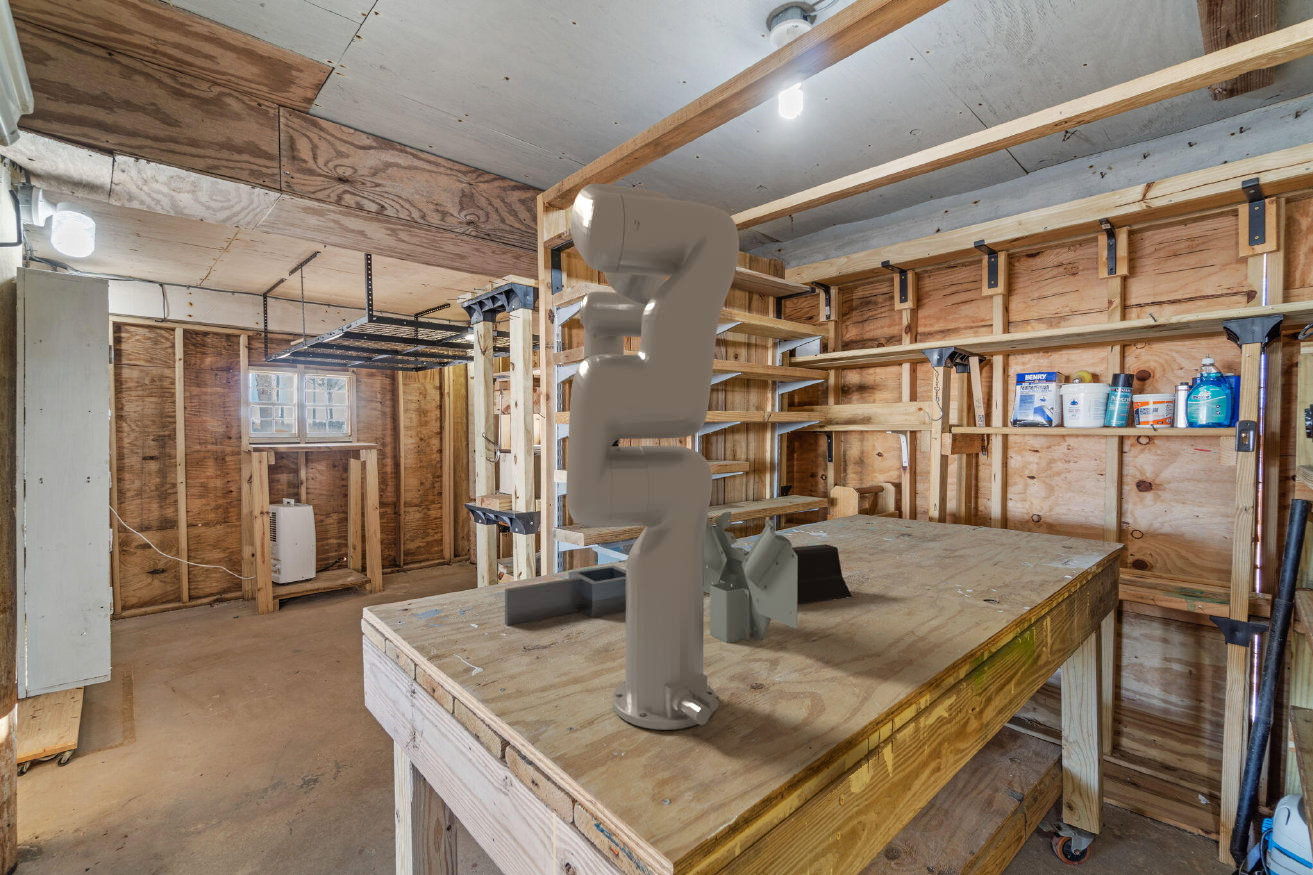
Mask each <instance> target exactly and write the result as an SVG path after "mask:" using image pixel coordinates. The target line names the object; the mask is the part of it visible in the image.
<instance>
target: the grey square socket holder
mask: <svg viewBox="0 0 1313 875" xmlns="http://www.w3.org/2000/svg"><path fill="white" fill-rule="evenodd" d="M578 612H582V613H584V614H585V615H587V616H589V617H591V618H592V619H593V618H597V617H598V618H599V617H602V616H607V615H612V614H616V613H622V612H626V569H623V568H621V567H619V566H617V565H614V564H613V565H608V566H600V567H594V568H590V569H589V568H588V569H581V570H576V571H568V578H565V579H560V580H554V581H552V580H551V581H547V582H541V583H533V584H528V585H522V586H516V587H510V588H508V587H507V588H504V624H505V625H506V626H511V625H512V626H513V625H516V624H522V623H529V622H532V621H537V620H538V621H539V620H541V619H547V618H552V617H558V616H563V615H568V614H569V615H570V614H573V613H578Z"/></svg>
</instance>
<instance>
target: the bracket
mask: <svg viewBox="0 0 1313 875" xmlns="http://www.w3.org/2000/svg"><path fill="white" fill-rule="evenodd" d="M714 522H715V525H716V526H715V527H714V526H713V524H712V521H711V520H710V517H709V515H708V516H707V522H706V531H705V544H704V593H707V594H709V596H710V598H709V599H710V601H709V605H710V611H709V612H710V614H709V622H710V624H709V634H710V635H711V636H712V637H714V638H716V639H718V640H720V641H722V642H725V643H728V644H729V643H733V642H737V641H740V640H741V641H742V640H744V641H747V642H749V641H750V633H751V636H752V637H753V638H755V639H757V640H759V641H763V640H764V639H765V635H766V633H767V631H768V627H769V625H770V623H771V620H774V621H777V622H779V623H781V624H784V625H787V626H789V627H792V628H794V629H798V605H797V599H798V556H797V555H796V553H795V552H794V551H793V549H792V548H793V547H794V546H793V544H792V542H791V541H790V540H789V538H787V537H786V536H784V535H781V534H777V533H776V532H775V519H770V520H769V519H768V520H765V527H764V528H763V529H762V531H761V533H760V534H759V536H758V538H757V539H756V540H755V542H754V544H753V546H752V547H751V548H750V550H749V551H750V552H749V551H748V550H746V549H744V548H743V547H733V546H732V545H734V544H735V543H737V539H736V537H735V535H734V533H733V532H730V531H725V530H726V529H727V528H728V527H730V526H731V525H732V511H727V512H723V513H721V514H720V516H719V517H718V518H717V519H716V520H715V521H714ZM732 537H733V538H732ZM748 552H749V553H748ZM746 553H748V555H744V554H746ZM792 555H794V556H792Z"/></svg>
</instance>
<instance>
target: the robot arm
mask: <svg viewBox="0 0 1313 875" xmlns="http://www.w3.org/2000/svg"><path fill="white" fill-rule="evenodd" d="M570 215H571V216H570V233H571V238H572V242H573V244H574V248H575V250H576V251H577V252H578V254H579V255H580V257H581V258H582V259H583V261H584V263H585V264H586V265H587V266H588V267H589V268H590V269H592V270H595V271H597V272H600V273H601V272H603V275H604V279H605V280H606V282H607V283H608V285H609V286H610V287H611V289H613V291H615V292H610V291H591V292H588V293H587V294H586V295H585V296H584V298H583V299H582V300H581V302H580V304H579V311H578V312H579V321H580V324H581V325H582V327H583V360H582V361H581V362H580V364H579V365H578V367H577V368H576V371H575V373H574V376H573V380H572V384H571V391H570V401H569V402H570V403H569V420H568V439H567V440H568V441H567V444H568V445H567V462H566V464H567V465H566V484H565V485H566V488H565V490H566V491H565V492H566V495H565V496H566V505H567V506H566V507H567V510H568V513H569V516H570V517H571V519H572V520H573V522H575V523H576V524H577V525H579V526H582V527H585V528H599V529H600V528H620V527H621V528H622V527H624V528H625V527H644V528H643V530H642V531H641V533H640V534H639V536H638V537H637V539H636V540H635V542H634V543H633V544H632V547H631V548H630V551H629V552H628V555H627V558H626V563H625V564H626V565H625V570H626V611H625V681H623V682H621V683H620V684H619V685H618V686H616V688H615V690H614V692H613V693H612V707H613V709H614V711H615V713H616V714H617V715H618V717H620V719H623V720H624V721H625V722H627V723H629V724H632V725H634V726H637V727H641V728H644V729H650V730H659V731H661V730H662V731H663V730H664V731H667V730H668V731H671V730H672V731H673V730H680V729H686V728H690V727H693V726H696V725H700V726H702V725H705V724H706V723H708V721H709V719H710V717H711V716H712V715H713V713H715V711H717V710H718V708H719V704H720V702H719V700H718V698H717V697H716V693H715V691H714V690H713V688H712V687H711V685H709V684H708V676H707V675H706V674H704V623H705V622H704V616H705V615H704V614H705V613H704V608H705V606H704V604H705V603H704V602H705V601H704V598H705V597H704V596H705V595H704V594H705V592H704V544H705V531H706V522H707V516H708V517H709V509H710V505H711V498H712V492H713V473H712V469H711V466H710V463H709V462H708V460H707V459H706V457H705V456H703V455H702V454H701V453H700V452H698V451H696V450H694V449H693V448H692V449H691V448H689V447H684V446H679V445H637V446H636V445H635V446H624V445H623V446H620V444H621V440H634V439H635V440H637V439H638V440H640V439H642V440H644V439H646V440H648V439H649V440H651V439H680V438H688V437H692V436H694V435H696V434H697V433H699V432H700V431H701V429H702V428H703V427H704V424H705V421H706V419H707V416H708V410H709V404H710V396H711V389H712V381H713V380H712V379H713V371H714V369H713V368H714V361H715V352H716V345H717V344H716V342H717V332H718V327H719V326H718V325H719V321H720V320H719V319H720V317H721V314H722V311H723V308H724V304H725V301H726V299H727V296H728V295H729V292H730V290H731V286H732V283H733V280H734V277H735V274H736V271H737V267H738V266H737V265H738V260H739V253H740V239H739V230H738V227H737V225H736V222H735V220H734V219H733V218H732V216H731V215H730V214H728V212H726V211H725V210H723V209H722V208H721V209H720V208H719V207H716V206H713V205H709V204H705V203H700V202H695V201H694V202H693V201H689V200H681V199H674V198H672V197H670V196H669V195H667V194H665V193H663V192H660V191H656V190H652V189H647V188H646V189H645V188H639V187H638V188H636V187H630V186H622V185H613V184H605V183H589V184H587V185H584V187H582V188H581V189H580V191H579V192H578V194H577V195H576V197H575V199H574V202H573V206H572V209H571V214H570ZM666 278H668V279H667V280H666ZM625 337H632V338H640V342H639V343H640V344H639V348H638V351H637V353H636V354H625V353H624V352H625V349H624V348H625V346H624V343H625V342H624V340H625V339H624V338H625Z"/></svg>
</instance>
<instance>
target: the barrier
mask: <svg viewBox="0 0 1313 875" xmlns="http://www.w3.org/2000/svg"><path fill="white" fill-rule="evenodd" d="M792 549H793V551H794V552H795V553H796V555H797V556H798V599H797V606H801V605H807V604H814V603H821V602H830V601H834V600H833V599H837V600H843V599H842V598H844V599H847V598H846V597H851V598H853V595H852V594H851V592H850V590H849V587H848V585H847V583H846V581H845V579H844V577H843V573H842V567H841V560H840V556H839V554H840V553H839V549H838V547H836V546H833V545H830V544H827V543H826V544H824V543H823V544H816V545H805V546H793V548H792ZM747 552H748V553H749V552H750V550H749V551H747ZM748 553H746V554H744V555H748ZM792 556H794V555H792Z"/></svg>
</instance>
